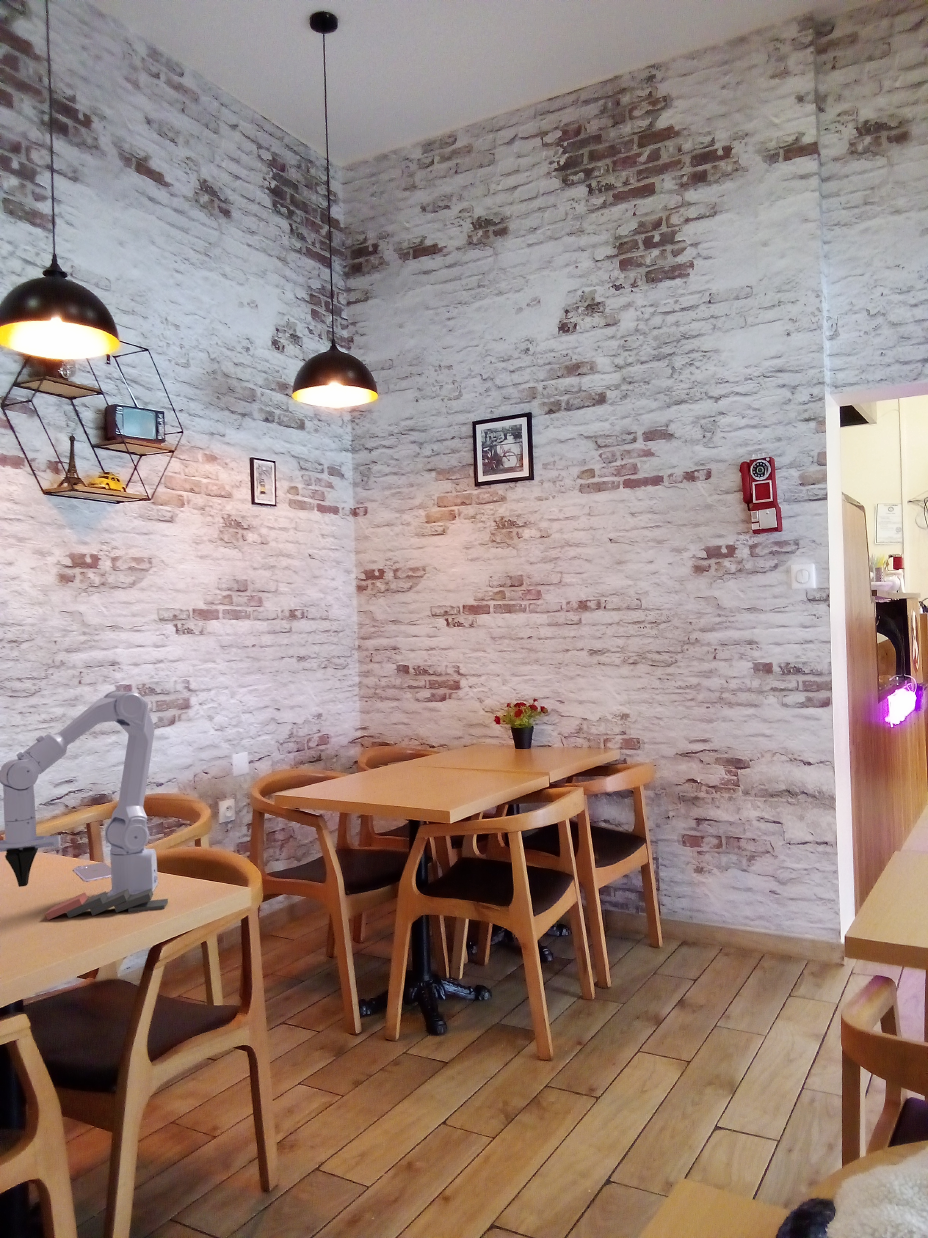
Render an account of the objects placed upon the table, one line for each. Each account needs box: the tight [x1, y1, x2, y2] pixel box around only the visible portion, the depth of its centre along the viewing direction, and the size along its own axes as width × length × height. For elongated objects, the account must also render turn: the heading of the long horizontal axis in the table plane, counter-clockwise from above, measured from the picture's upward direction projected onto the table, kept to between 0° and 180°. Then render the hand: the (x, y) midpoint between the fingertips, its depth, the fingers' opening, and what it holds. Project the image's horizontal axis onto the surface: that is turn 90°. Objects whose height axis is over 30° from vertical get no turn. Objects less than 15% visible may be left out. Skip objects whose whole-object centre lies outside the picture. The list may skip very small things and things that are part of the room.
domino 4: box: [127, 898, 169, 913], centre depth 183 cm, size 1×4×7 cm
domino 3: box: [114, 888, 154, 913], centre depth 182 cm, size 1×4×7 cm
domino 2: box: [89, 889, 131, 917], centre depth 181 cm, size 1×4×7 cm
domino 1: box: [65, 891, 108, 919], centre depth 181 cm, size 1×4×7 cm
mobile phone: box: [73, 861, 111, 882], centre depth 213 cm, size 8×1×15 cm
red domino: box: [45, 892, 89, 921], centre depth 180 cm, size 1×4×7 cm
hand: (23, 885), depth 180 cm, fingers closed
